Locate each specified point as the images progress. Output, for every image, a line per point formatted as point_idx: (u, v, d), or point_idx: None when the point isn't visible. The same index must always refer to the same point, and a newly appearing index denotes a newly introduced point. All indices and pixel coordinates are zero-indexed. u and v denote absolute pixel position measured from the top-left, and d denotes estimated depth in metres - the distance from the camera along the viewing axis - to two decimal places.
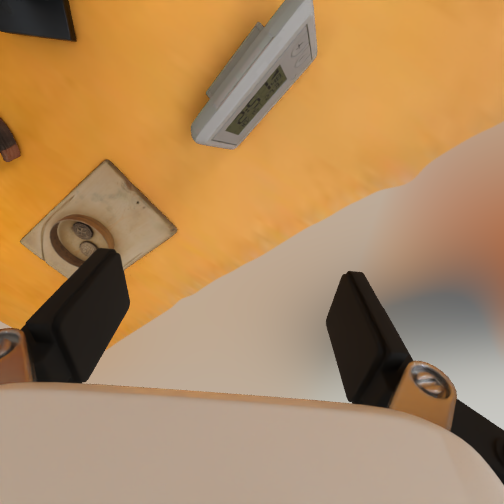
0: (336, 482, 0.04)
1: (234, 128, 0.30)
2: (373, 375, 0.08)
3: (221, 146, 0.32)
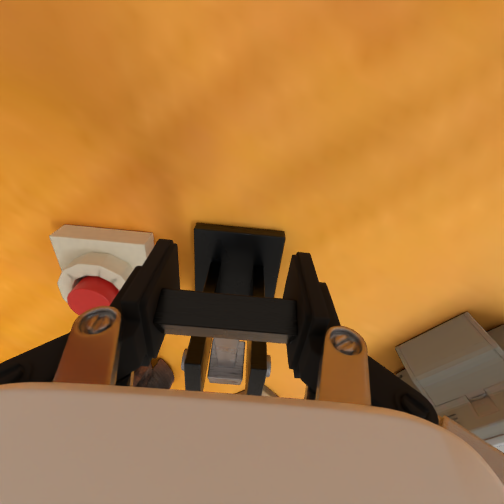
0: (336, 482, 0.04)
1: None
2: (304, 341, 0.09)
3: None
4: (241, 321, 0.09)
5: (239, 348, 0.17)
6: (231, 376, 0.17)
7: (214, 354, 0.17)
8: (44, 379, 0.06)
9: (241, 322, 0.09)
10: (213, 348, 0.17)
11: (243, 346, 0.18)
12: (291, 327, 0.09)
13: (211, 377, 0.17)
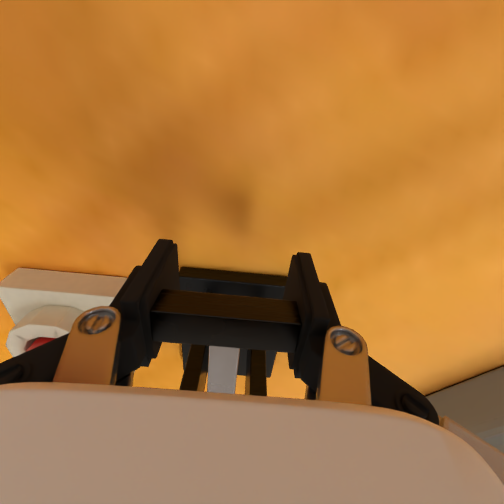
0: (336, 482, 0.04)
1: None
2: (305, 341, 0.09)
3: None
4: (242, 313, 0.09)
5: None
6: None
7: None
8: (43, 379, 0.06)
9: (242, 313, 0.09)
10: None
11: None
12: (294, 318, 0.09)
13: None
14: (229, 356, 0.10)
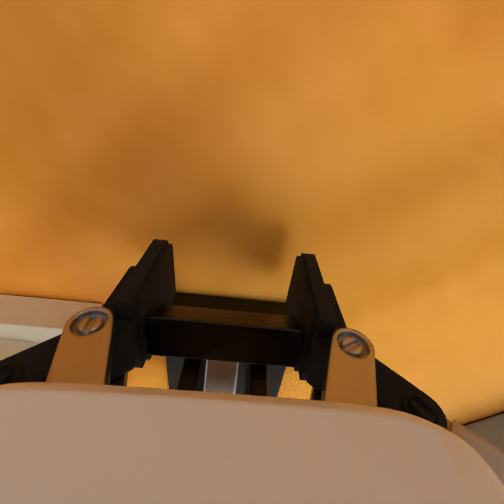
0: (336, 482, 0.04)
1: None
2: (310, 343, 0.09)
3: None
4: (241, 321, 0.09)
5: None
6: None
7: None
8: (34, 381, 0.06)
9: (241, 321, 0.09)
10: None
11: None
12: (293, 326, 0.09)
13: None
14: (227, 375, 0.09)
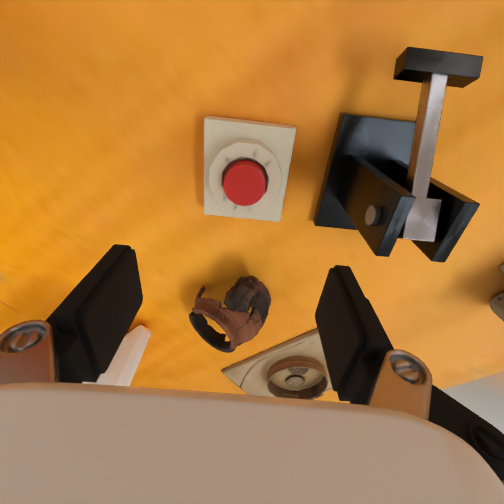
0: (336, 482, 0.04)
1: None
2: (355, 364, 0.08)
3: None
4: None
5: None
6: None
7: None
8: None
9: None
10: None
11: None
12: None
13: None
14: (441, 85, 0.17)
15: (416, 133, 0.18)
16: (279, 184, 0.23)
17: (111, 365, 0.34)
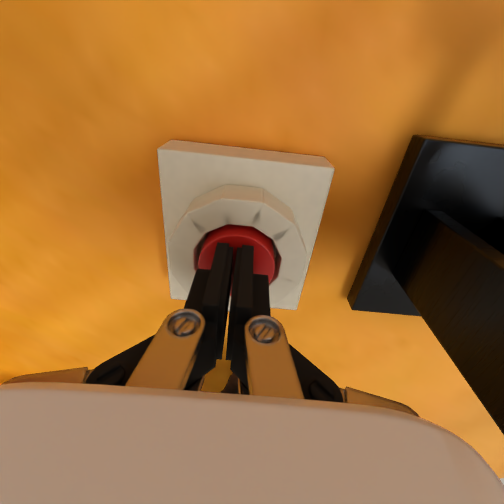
0: (336, 482, 0.04)
1: None
2: (233, 331, 0.09)
3: None
4: None
5: None
6: None
7: None
8: None
9: None
10: None
11: None
12: None
13: None
14: None
15: None
16: (301, 268, 0.13)
17: None
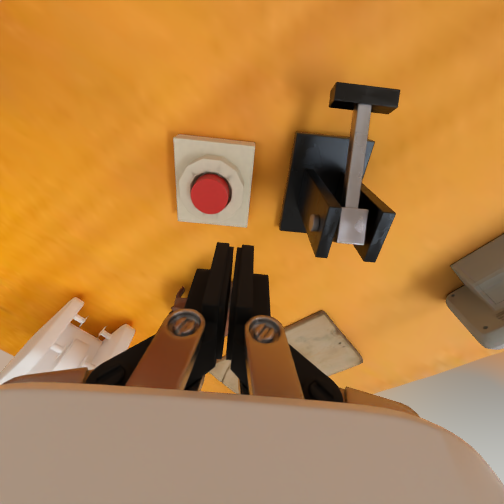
0: (336, 482, 0.04)
1: None
2: (233, 331, 0.09)
3: None
4: None
5: None
6: None
7: None
8: None
9: None
10: None
11: None
12: None
13: (344, 207, 0.20)
14: (366, 113, 0.20)
15: (348, 153, 0.21)
16: (241, 194, 0.27)
17: (97, 361, 0.37)
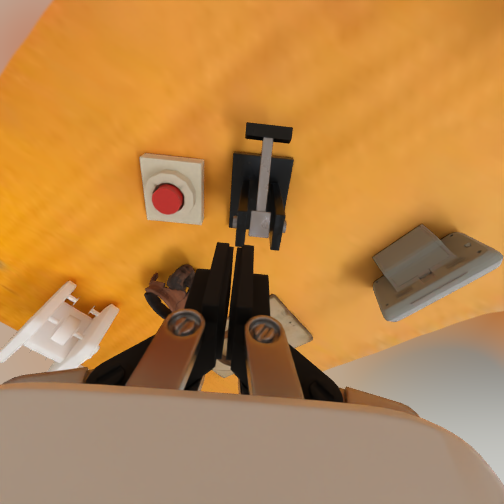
0: (336, 482, 0.04)
1: None
2: (233, 331, 0.09)
3: None
4: None
5: None
6: (264, 211, 0.29)
7: None
8: None
9: None
10: None
11: None
12: None
13: (253, 211, 0.29)
14: (269, 143, 0.28)
15: None
16: (192, 200, 0.35)
17: (86, 332, 0.46)
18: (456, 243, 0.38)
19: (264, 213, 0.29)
